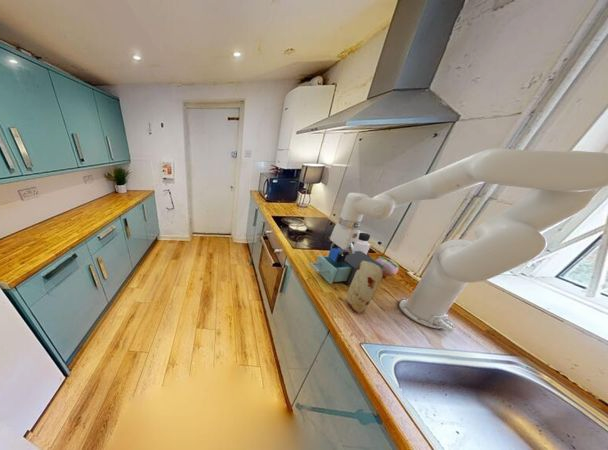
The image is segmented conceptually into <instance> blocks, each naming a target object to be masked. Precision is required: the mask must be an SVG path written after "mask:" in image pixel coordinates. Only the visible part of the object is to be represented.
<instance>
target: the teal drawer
mask: <svg viewBox="0 0 608 450" xmlns="http://www.w3.org/2000/svg"><path fill="white" fill-rule="evenodd" d="M317 256H318V257H317V259H316V262H311V261H309V263H308V265H309V266H310V267H311V268H312V269H313V270H314V271H315V272H316V273H317V275H320V276H322V278H324V280H325V281H327V282H328V284H330V285H331V284H333V282H334V283H337V282H338V283H339V282H343V281H347V280H348V278H349V275H350V273H351V270H352V268H351V267H350V266H349V265H348V264H346V263H345V262H334V261H333V260H332V259H331V258H330V257H328V255H324V256H323V255H321V254H319V255H317Z"/></svg>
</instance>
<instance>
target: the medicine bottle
mask: <svg viewBox="0 0 608 450" xmlns="http://www.w3.org/2000/svg"><path fill="white" fill-rule="evenodd" d="M370 238H371V235H370V234H369V233H367V232H364V231H360V234H359V239H358V242H357V245H356V248H355V250H354V251H361V252H363V253H364V254H366V255H367V256H368V253H369V251H370V248H371V246H372V244H371V243H370V242H369V240H370Z"/></svg>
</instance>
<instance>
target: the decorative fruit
mask: <svg viewBox="0 0 608 450" xmlns="http://www.w3.org/2000/svg"><path fill="white" fill-rule="evenodd" d="M374 260H375V261H377V262H378V263H380V264H381V265H383V266H384V267H383V269H382V273H383V275H382V277H393V276H395V275H396V274H397V273H398V272H399V269H400V265H399V263H398V262H396V261H395V260H393V259H391V257H385V256H377V259H374Z"/></svg>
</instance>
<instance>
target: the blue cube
mask: <svg viewBox="0 0 608 450" xmlns="http://www.w3.org/2000/svg"><path fill="white" fill-rule="evenodd" d="M345 251H346V250H344V252H345ZM339 254H341V248H340V247H337V248H331V247H330V248H329V253H328V255H327V256H328V257H330V258H331V259H332V260H333V261H334V262H337V259H338V256H339Z"/></svg>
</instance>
